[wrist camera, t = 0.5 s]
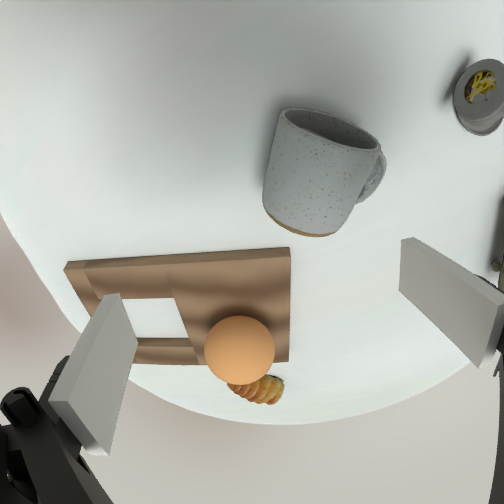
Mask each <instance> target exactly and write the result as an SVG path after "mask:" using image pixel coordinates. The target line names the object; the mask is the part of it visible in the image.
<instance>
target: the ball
mask: <svg viewBox="0 0 504 504" xmlns="http://www.w3.org/2000/svg"><path fill="white" fill-rule="evenodd" d="M204 355H205V359H206V363H207V365H208V367H209V368H210V370H211V371H212V372H213V373H214V374H215V375H216V376H217V377H218V378H219V379H221V380H223V381H225V382H227V383H230V384H235V385H245V384H250V383H252V382H255V381H257V380H259V379H260V378H262V377H263V376H264V375H265V374H266V373H267V372H268V370H269V369H270V367H271V365H272V363H273V360H274V356H275V345H274V340H273V338H272V335H271V333H270V332H269V330H268V329H267V328H266V327H265V326H264V325H263V324H262V323H261V322H259V321H258V320H256V319H254V318H251V317H247V316H231V317H228V318H225V319H223V320H221V321H220V322H218V323H217V324H216V325H215V326H213V328H212V329H211V330H210V332H209V333H208V335H207V337H206V340H205V345H204Z"/></svg>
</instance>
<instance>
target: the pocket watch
mask: <svg viewBox="0 0 504 504" xmlns="http://www.w3.org/2000/svg"><path fill="white" fill-rule="evenodd" d="M454 105H455V108H456V111H457V114H458V117H459V119H460V121H461V123H462V125H463V126H464V127H465V128H466V129H467V130H468V131H469V132H471V133H473V134H475V135H478V136H485V135H489V134H491V133H492V132H494V131H495V130H496V129H497V128H498V127H499V126H500V124H501V123H502V120H503V118H504V64H503V63H501V62H500V61H498V60H494V59H484V60H481V61H478V62H476V63H474V64H473V65H472V66H470V67H469V68H468V69H467V70H466V71H465V72H464V73H463V74H462V76H461V77H460V79H459V80H458V83H457V85H456V88H455V91H454Z"/></svg>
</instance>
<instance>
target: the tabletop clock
mask: <svg viewBox="0 0 504 504" xmlns="http://www.w3.org/2000/svg"><path fill="white" fill-rule="evenodd" d="M492 269H493V271H495V272H498V271H500V274H499V281H498V288H499V289H501V290H502V291H504V255H503V260H502V265H501V262H500V261H498V260H495V261H493V263H492Z"/></svg>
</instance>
